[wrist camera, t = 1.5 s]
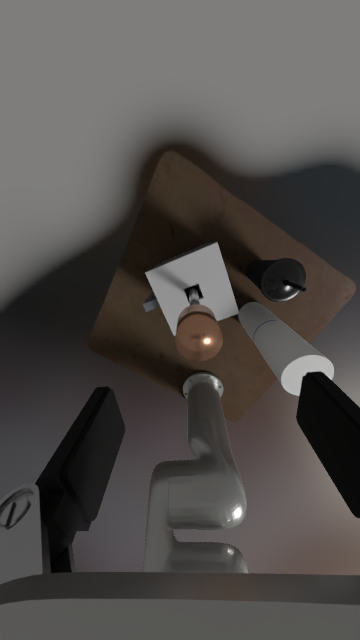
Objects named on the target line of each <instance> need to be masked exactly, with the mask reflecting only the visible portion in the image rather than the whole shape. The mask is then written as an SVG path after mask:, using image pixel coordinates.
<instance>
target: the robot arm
mask: <svg viewBox="0 0 360 640" xmlns="http://www.w3.org/2000/svg"><path fill="white" fill-rule="evenodd" d="M183 394H184V396H185V398H186V399H187V400H188V444H189V447H190V449H191V451H192V453H193V455H194V456H195V458H196V459H193V460H173V461H163V462H160V463H158V464H157V465H156V466H155V468H154V469H153V472H152V475H151V480H150V487H149V497H148V510H147V524H146V536H145V549H144V561H143V572H76V567H75V560H74V554H73V547H72V542H73V539H74V537H75V534H76V531H88V530H89V527H90V524H91V521H93V520H95V518H96V517H97V514H98V511H99V508H100V505H101V502H102V499H103V496H104V493H105V490H106V487H107V484H108V481H109V478H110V475H111V472H112V469H113V466H114V463H115V460H116V457H117V454H118V451H119V448H120V445H121V442H122V439H123V436H124V433H125V425H124V422H123V419H122V416H121V413H120V410H119V407H118V404H117V401H116V398H115V395H114V392H113V390H112V389H110V388H109V387H97V388H96V389H95V390H94V392H93V393H92V395H91V396H90V398H89V400H88V401H87V403H86V404H85V406H84V407H83V409H82V411H81V412H80V414H79V416H78V417H77V419H76V420H75V421H74V423H73V425H72V426H71V428H70V429H69V431H68V432H67V434H66V436H65V437H64V439H63V440H62V442H61V444H60V445H59V447H58V448H57V450H56V451H55V453H54V455H53V456H52V458H51V459H50V461H49V462H48V464H47V466H46V467H45V469H44V470H43V472H42V474H41V475H40V477H39V478H38V480H37V481H36V483H35V484H32V483H28V484H24V485H21V486H20V487H17V488H16V489H14V490H13V491H11V492H10V493H9V494H7V495H6V496H5V497H4V498H3V499H2V500H1V501H0V640H360V576H359V575H310V574H309V575H307V574H254V573H253V574H252V573H249V572H248V568H247V565H246V561H245V559H244V557H243V555H242V553H241V552H240V550H239V549H238V548H236V547H235V546H233V545H230V544H227V543H218V542H179V541H177V539H176V538H175V536H174V532H173V529H197V530H220V529H228V528H232V527H235V526H237V525H238V524H240V523H241V522H242V520H243V519H244V517H245V514H246V508H247V503H246V495H245V491H244V487H243V483H242V480H241V478H240V475H239V472H238V470H237V467H236V464H235V461H234V458H233V455H232V451H231V447H230V443H229V438H228V433H227V429H226V424H225V420H224V414H223V409H222V404H221V400H220V397H221V396H222V394H223V385H222V382H221V380H220V379H219V378H218V377H217V376H215V375H214V374H211V373H208V372H199V373H195V374H192V375H191V376H189V377H188V378H187V379H186V380H185V382H184V384H183ZM296 418H297V422H298V424H299V426H300V428H301V429H302V431H303V433H304V434H305V436H306V438H307V439H308V441H309V443H310V444H311V446H312V448H313V449H314V451H315V453H316V454H317V456H318V458H319V459H320V461H321V463H322V464H323V466H324V468H325V469H326V471H327V472H328V474H329V476H330V477H331V479H332V481H333V482H334V484H335V486H336V487H337V489H338V491H339V492H340V494H341V495H342V497H343V499H344V501H345V502H346V504H347V506H348V507H349V509H350V510H351V512H352V513H353V515H354V516H355V517H357V518H360V408H359V406H357V405H356V404H355V403H354V402H353V401H352V400H351V399H350V398H349V397H348V396H347V395H346V394H345V393H344V392H343V391H342V390H341V389H340V388H339V387H338V386H337V385H336V384H335V383H334V382H333V381H332V380H331V379H330V378H328V377H327V376H326V375H325V374H324V373H323V372H321V371H317V372H307V373H306V375H305V376H303V377H302V383H301V390H300V397H299V403H298V409H297V416H296Z"/></svg>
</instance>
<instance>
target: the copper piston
mask: <svg viewBox="0 0 360 640" xmlns="http://www.w3.org/2000/svg"><path fill="white" fill-rule="evenodd" d="M184 290H185V293H186V295H187V298H188V300H189V301H190V306H188V307H186V308H185V309H184V310H183V311H182V312H181V313H180V315H179V317H178V322H177V329H176V336H175V344H176V348H177V350H178V351H179V353H180V354H181V355H182V356H183V357H185V358H187V359H189V360H192V361H205V360H208V359H211V358H212V357H214V356H215V355H216V354H217V353H218V352H219V351H220V349H221V347H222V343H223V337H222V333H221V331H220V328H219V325H218V322H217V320H216V317H215V315H214V313H213V312H212V310H211V309H209V308H208V307H206V306H204V305H200V302H199V298H200V297H203V295H202V292H201V289H200V287H199V284H196V285H193V286H191V287H188V288H186V289H184Z"/></svg>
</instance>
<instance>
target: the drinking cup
mask: <svg viewBox="0 0 360 640" xmlns="http://www.w3.org/2000/svg"><path fill="white" fill-rule="evenodd" d="M247 276H248V277H249V279H250V280H251V281H252V282H253V283H254V284H255V285H256V286H257V287H258V288H259V289H260V290H261V291H262V293H263V295H264V296H265V297H266V298H267V299H269V300H271V301H274V302H283V301H287V300H290V299H292V298H293V297H295V296H296V295H297V294H298V293H299V292H300V291H302V292H304V291H305V290H306V287H303V286H304V283H305V279H306V273H305V269H304V267H303V266H302V264H301V263H300V262H298V261H297V260H294V259H290V258H283V259H279V260H261V261H254V262H252V263H251V264H250V265H249V267H248V269H247Z"/></svg>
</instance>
